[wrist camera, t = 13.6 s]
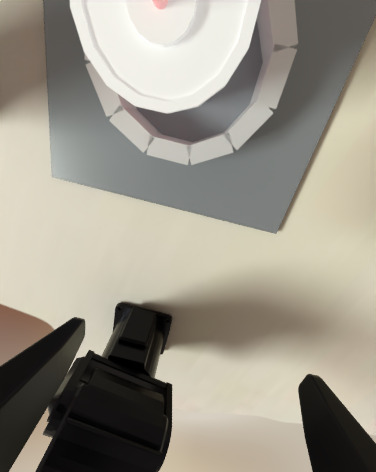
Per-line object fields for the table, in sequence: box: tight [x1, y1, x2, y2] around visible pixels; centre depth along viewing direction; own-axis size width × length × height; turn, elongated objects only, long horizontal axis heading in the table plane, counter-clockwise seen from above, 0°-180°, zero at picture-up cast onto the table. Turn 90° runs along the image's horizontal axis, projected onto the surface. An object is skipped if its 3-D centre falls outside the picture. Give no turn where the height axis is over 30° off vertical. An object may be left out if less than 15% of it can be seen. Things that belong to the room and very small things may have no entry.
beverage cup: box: [70, 0, 261, 114], centre depth 9 cm, size 6×6×14 cm
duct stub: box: [43, 0, 376, 234], centre depth 14 cm, size 20×20×4 cm
